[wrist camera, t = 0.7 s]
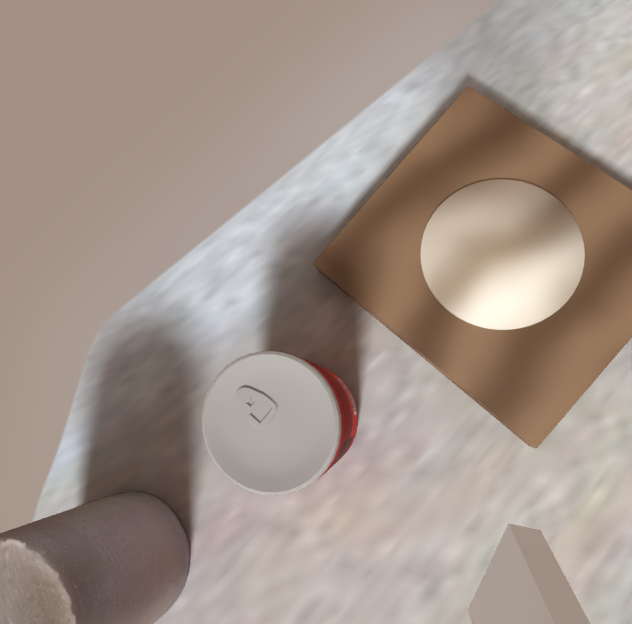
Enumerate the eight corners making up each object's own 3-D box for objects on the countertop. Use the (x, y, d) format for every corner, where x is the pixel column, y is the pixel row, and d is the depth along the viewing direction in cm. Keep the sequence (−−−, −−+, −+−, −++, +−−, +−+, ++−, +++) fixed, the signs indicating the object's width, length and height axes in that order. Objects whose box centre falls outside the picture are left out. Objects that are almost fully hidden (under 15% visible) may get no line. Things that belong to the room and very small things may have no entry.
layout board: (695, 250, 34) (715, 241, 32) (528, 445, 34) (537, 448, 32) (464, 101, 39) (468, 84, 37) (317, 269, 39) (312, 262, 37)
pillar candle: (66, 612, 38) (-145, 749, 23) (86, 481, 39) (-99, 531, 24) (183, 635, 36) (36, 798, 21) (200, 497, 37) (73, 560, 23)
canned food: (282, 348, 38) (234, 328, 28) (376, 390, 36) (364, 386, 26) (241, 439, 37) (176, 454, 27) (334, 487, 36) (304, 524, 25)
